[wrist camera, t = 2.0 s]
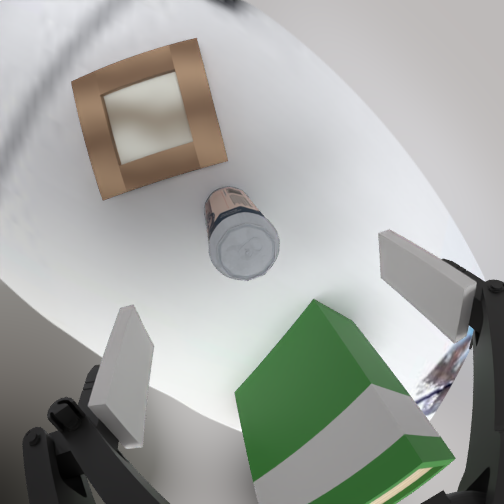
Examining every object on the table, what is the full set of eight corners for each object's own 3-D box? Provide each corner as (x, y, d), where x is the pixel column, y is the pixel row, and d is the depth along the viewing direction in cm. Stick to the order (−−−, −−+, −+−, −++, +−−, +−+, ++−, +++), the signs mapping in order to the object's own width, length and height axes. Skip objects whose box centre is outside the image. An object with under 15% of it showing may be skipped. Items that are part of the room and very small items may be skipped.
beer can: (194, 206, 30) (193, 248, 19) (232, 176, 29) (255, 200, 18) (223, 241, 32) (239, 299, 21) (260, 213, 31) (297, 257, 20)
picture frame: (81, 85, 23) (71, 81, 21) (196, 46, 24) (196, 37, 21) (110, 195, 28) (102, 200, 25) (225, 158, 29) (228, 160, 26)
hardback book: (275, 405, 43) (322, 543, 21) (234, 392, 40) (269, 549, 18) (352, 320, 39) (455, 458, 17) (313, 299, 36) (422, 462, 14)
